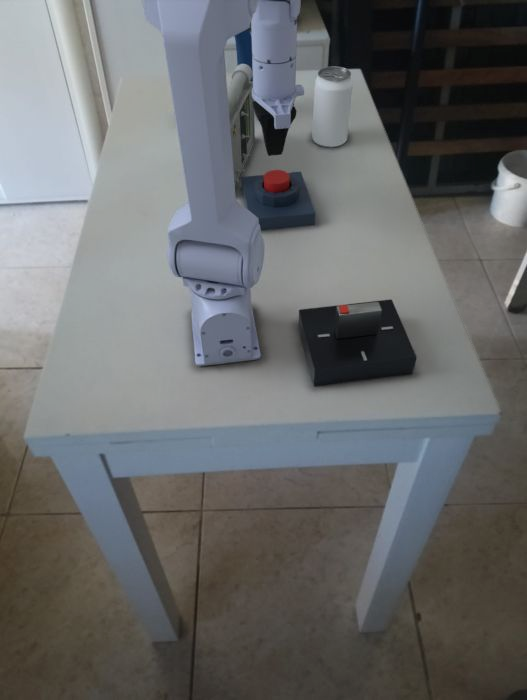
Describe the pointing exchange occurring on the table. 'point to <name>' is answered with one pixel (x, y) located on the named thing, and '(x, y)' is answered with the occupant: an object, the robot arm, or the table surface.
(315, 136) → the can
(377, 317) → the dial
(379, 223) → the table surface
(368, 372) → the control panel
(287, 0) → the robot arm
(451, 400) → the table surface
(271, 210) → the button box
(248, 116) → the geiger counter
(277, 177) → the power button
